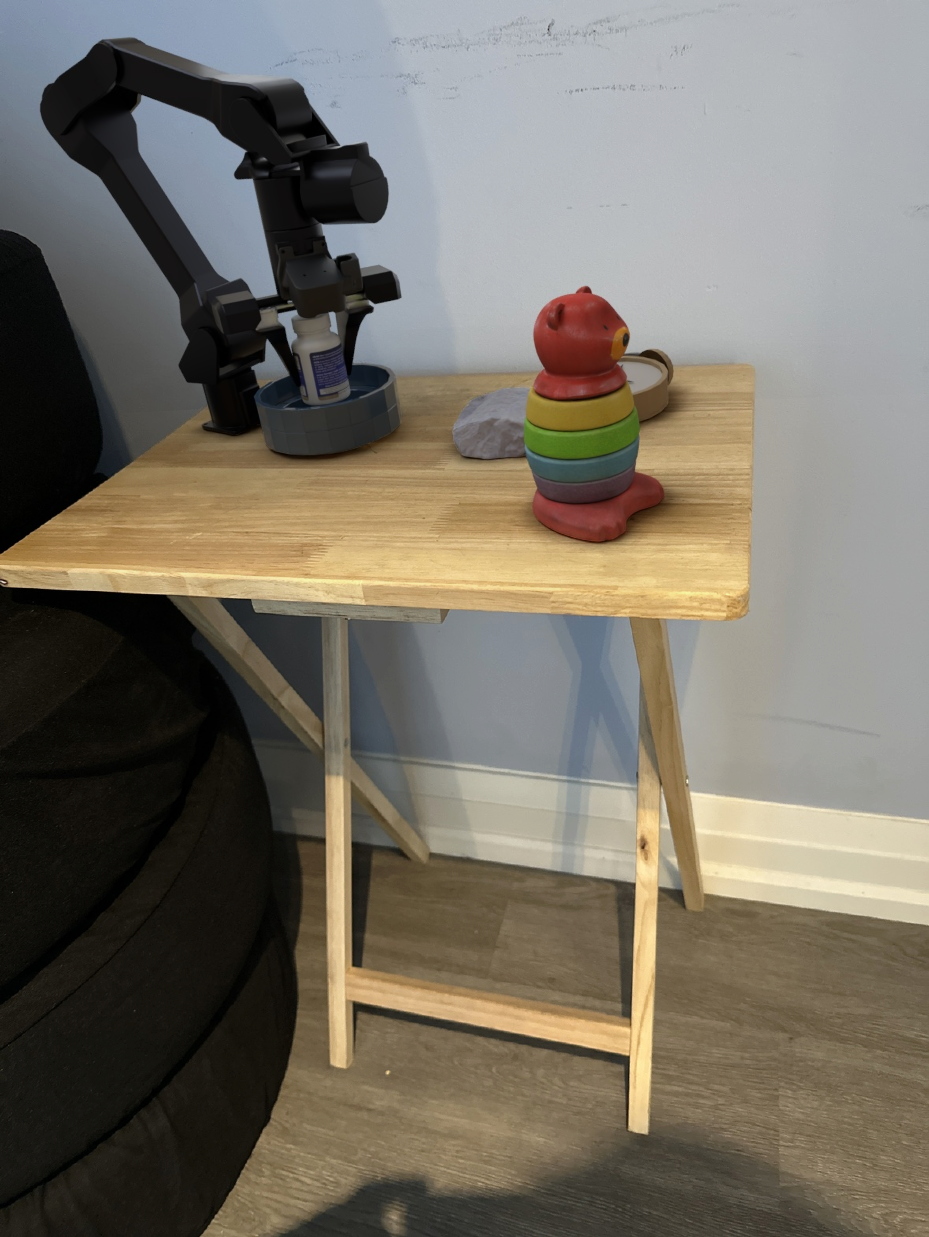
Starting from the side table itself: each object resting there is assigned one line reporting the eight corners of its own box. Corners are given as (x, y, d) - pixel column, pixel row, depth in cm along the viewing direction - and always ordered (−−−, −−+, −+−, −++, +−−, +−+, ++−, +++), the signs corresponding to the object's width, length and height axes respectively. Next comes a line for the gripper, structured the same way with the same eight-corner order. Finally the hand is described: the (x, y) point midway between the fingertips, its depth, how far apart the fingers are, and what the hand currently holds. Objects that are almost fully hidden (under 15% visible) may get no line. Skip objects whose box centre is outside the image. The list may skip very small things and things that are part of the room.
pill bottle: (358, 390, 102) (344, 307, 97) (338, 407, 98) (321, 321, 93) (316, 390, 104) (299, 309, 99) (294, 406, 99) (275, 323, 95)
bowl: (238, 448, 102) (225, 400, 99) (334, 403, 112) (325, 358, 109) (334, 469, 93) (323, 417, 91) (430, 418, 103) (423, 369, 100)
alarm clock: (544, 399, 95) (586, 331, 105) (550, 440, 98) (590, 371, 108) (652, 401, 91) (685, 331, 100) (655, 445, 94) (687, 372, 104)
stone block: (454, 477, 92) (551, 454, 89) (439, 431, 90) (537, 407, 87) (478, 436, 102) (565, 415, 99) (464, 395, 100) (553, 372, 97)
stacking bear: (609, 547, 72) (599, 316, 63) (504, 524, 78) (481, 309, 69) (673, 493, 79) (672, 278, 70) (572, 475, 85) (559, 274, 76)
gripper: (210, 254, 82) (251, 421, 91) (407, 218, 87) (429, 380, 95) (193, 239, 92) (232, 392, 100) (372, 207, 96) (395, 355, 105)
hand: (323, 380), depth 100 cm, fingers closed on pill bottle, 5 cm apart
